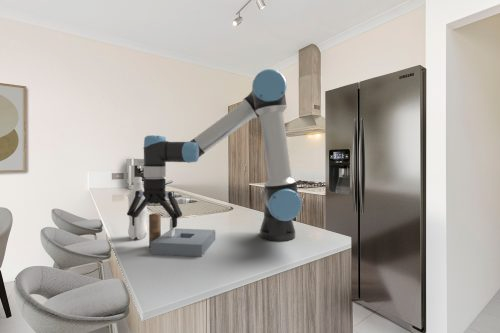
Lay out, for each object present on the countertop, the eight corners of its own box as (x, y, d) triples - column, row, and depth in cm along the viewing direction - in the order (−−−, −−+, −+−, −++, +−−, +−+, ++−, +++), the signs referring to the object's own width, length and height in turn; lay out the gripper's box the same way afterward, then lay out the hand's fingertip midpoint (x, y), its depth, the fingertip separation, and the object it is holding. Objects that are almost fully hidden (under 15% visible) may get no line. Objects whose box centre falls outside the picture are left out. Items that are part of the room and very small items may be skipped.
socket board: (215, 239, 102) (215, 229, 102) (201, 256, 84) (201, 244, 84) (172, 237, 104) (172, 228, 104) (150, 253, 86) (150, 242, 86)
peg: (162, 245, 95) (162, 213, 95) (157, 248, 91) (157, 215, 91) (152, 244, 95) (152, 213, 95) (147, 248, 92) (146, 215, 91)
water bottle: (140, 241, 99) (140, 178, 99) (124, 240, 101) (123, 177, 100) (150, 235, 106) (150, 176, 106) (135, 234, 108) (135, 176, 107)
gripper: (191, 178, 95) (190, 233, 95) (129, 176, 98) (128, 230, 98) (183, 179, 87) (183, 240, 88) (116, 177, 90) (116, 236, 91)
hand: (154, 235), depth 93 cm, fingers open, 13 cm apart
